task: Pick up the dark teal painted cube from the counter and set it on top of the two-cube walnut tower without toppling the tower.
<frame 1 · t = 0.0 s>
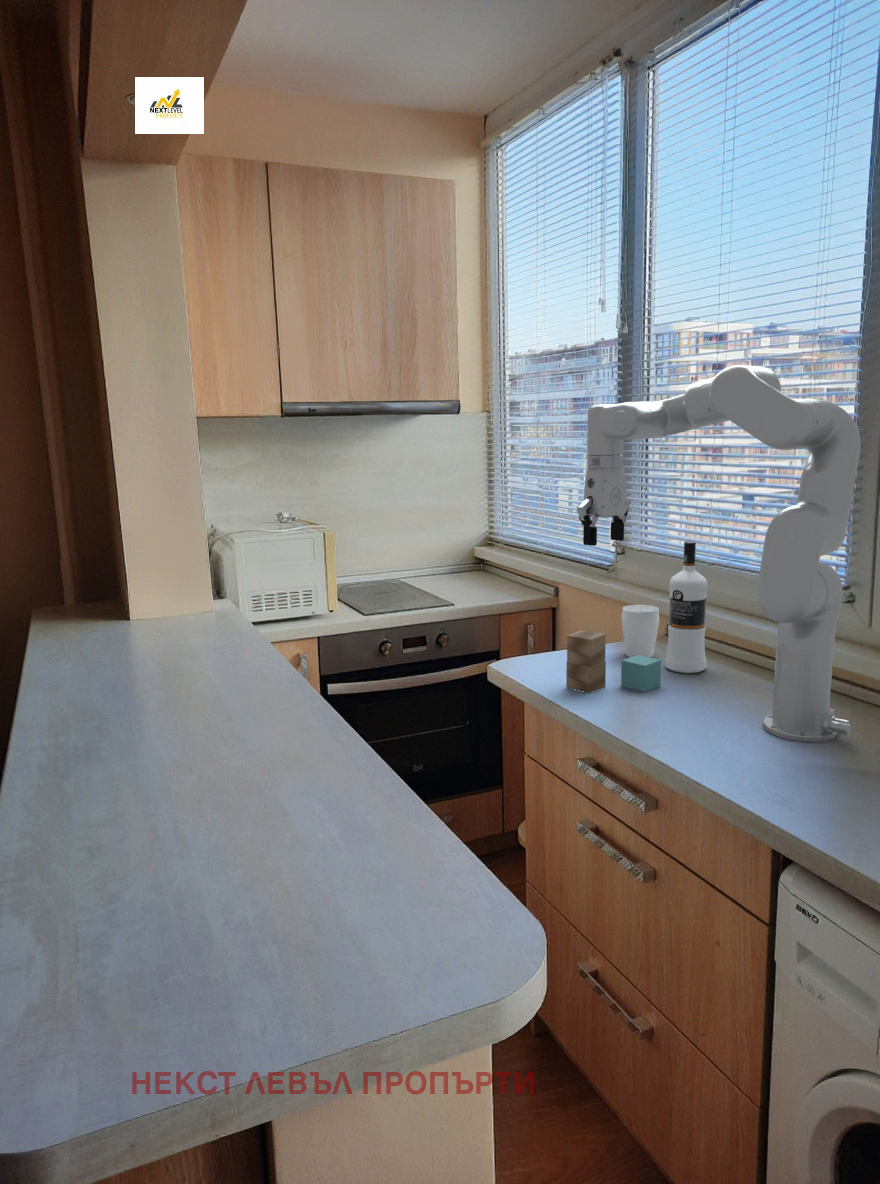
hand: (603, 542, 178), 31 cm above the table, tool pointing down, fingers open, 9 cm apart
vodka: (685, 669, 190), on the table
tower base: (585, 687, 178), on the table, touching tower mid
tower mid: (586, 661, 177), point 6 cm above the table, touching tower base
cup: (639, 656, 202), on the table
teal block: (640, 686, 179), on the table
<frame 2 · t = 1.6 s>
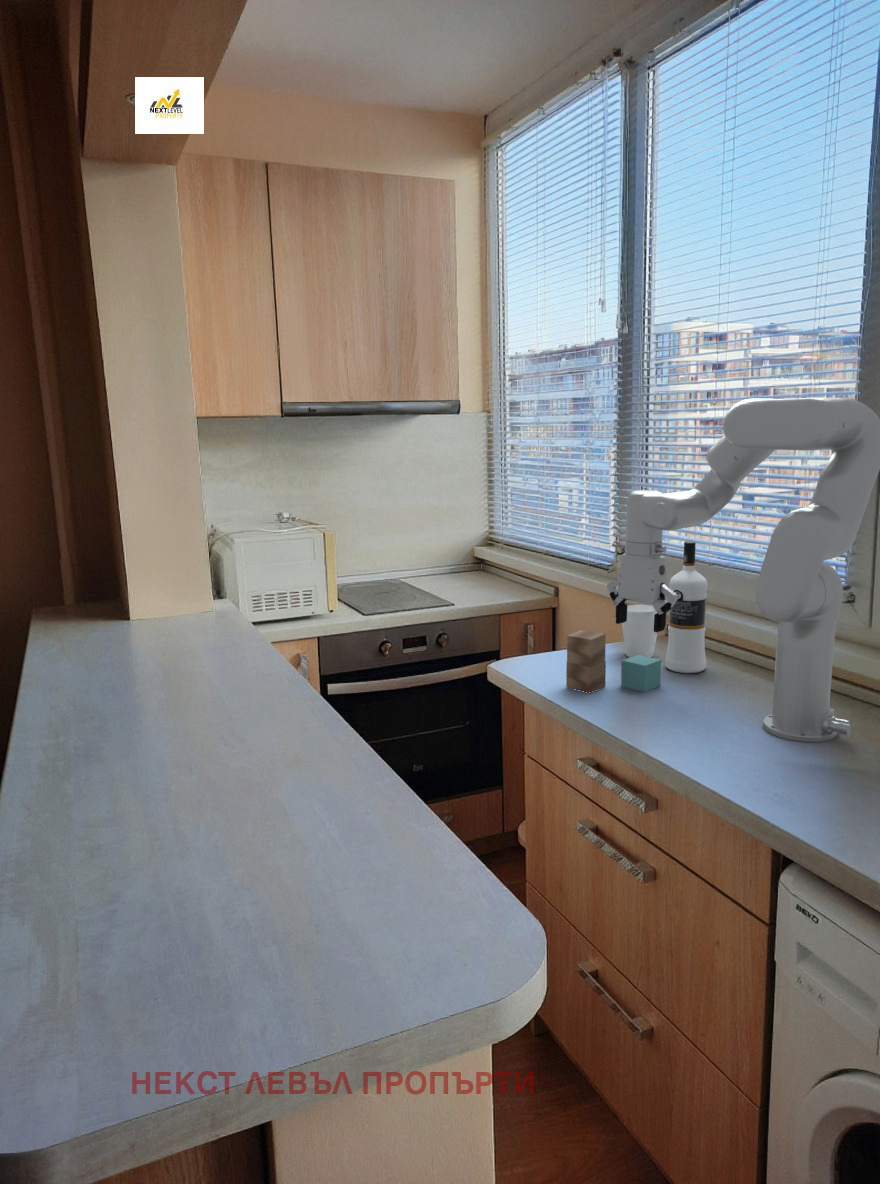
hand: (639, 626, 176), 13 cm above the table, tool pointing down, fingers open, 9 cm apart
nothing on the table moved.
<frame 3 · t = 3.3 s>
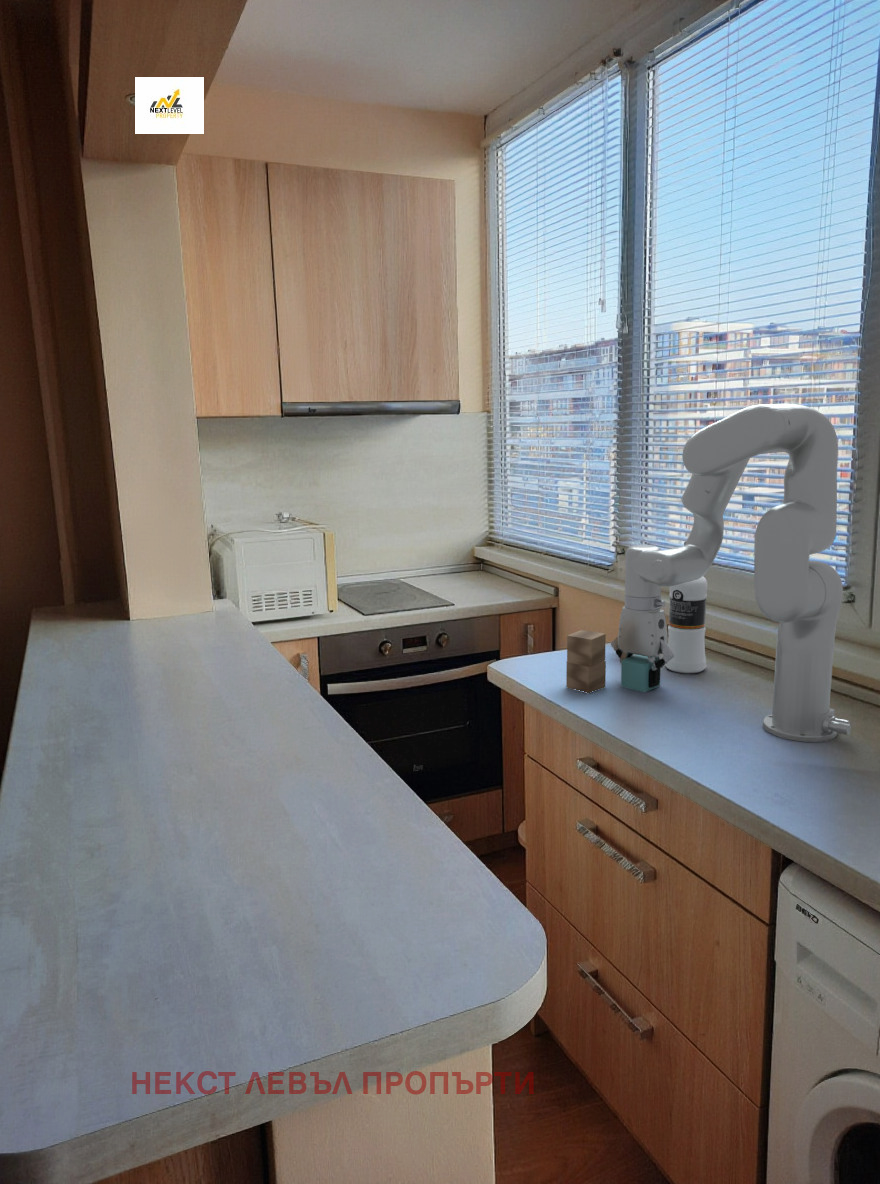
hand: (640, 682, 178), 1 cm above the table, tool pointing down, fingers closed on teal block, 6 cm apart
teal block: (640, 686, 179), on the table, touching gripper
everything else where it was.
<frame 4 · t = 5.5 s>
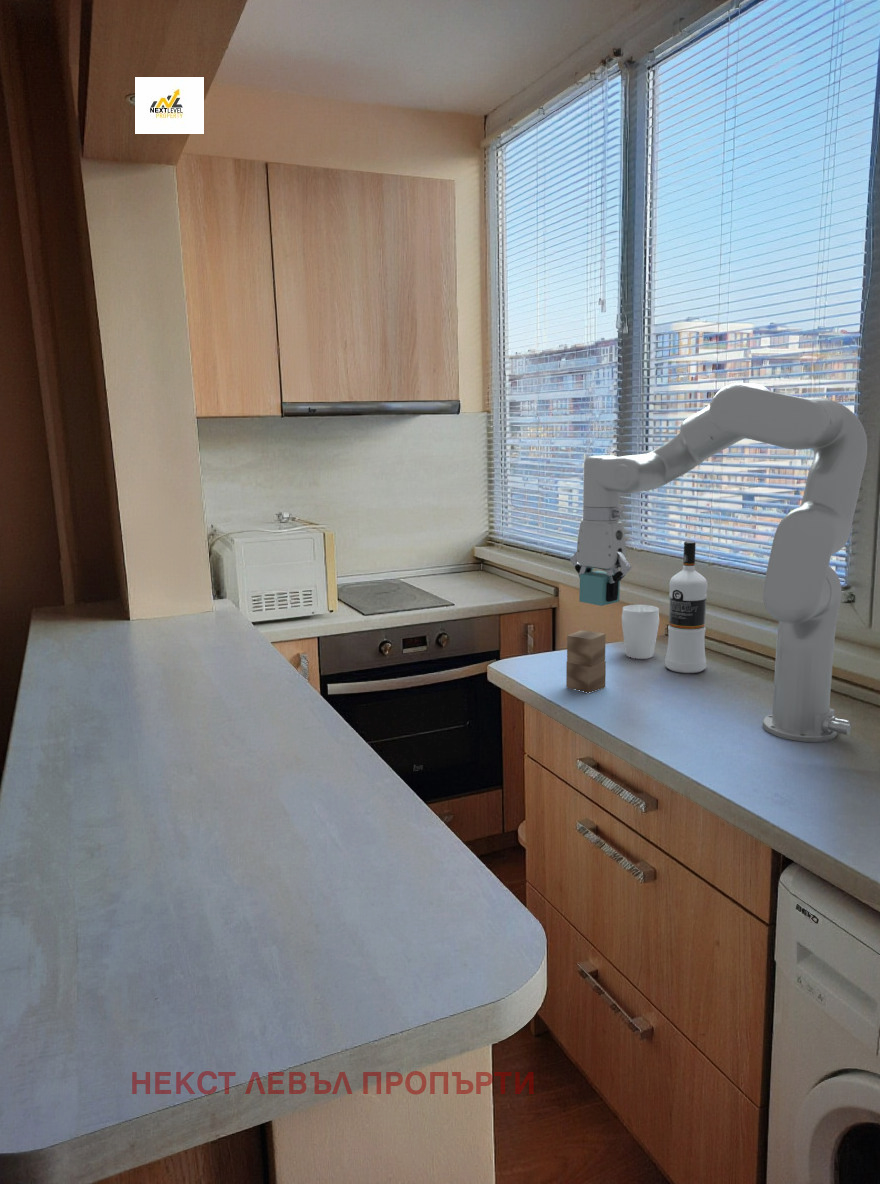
hand: (599, 597, 175), 20 cm above the table, tool pointing down, fingers closed on teal block, 6 cm apart
teal block: (599, 601, 175), point 19 cm above the table, touching gripper
everything else where it was.
when the fingers open (14 cm above the table, at t = 7.6 s): teal block stays where it is, resting on tower mid.
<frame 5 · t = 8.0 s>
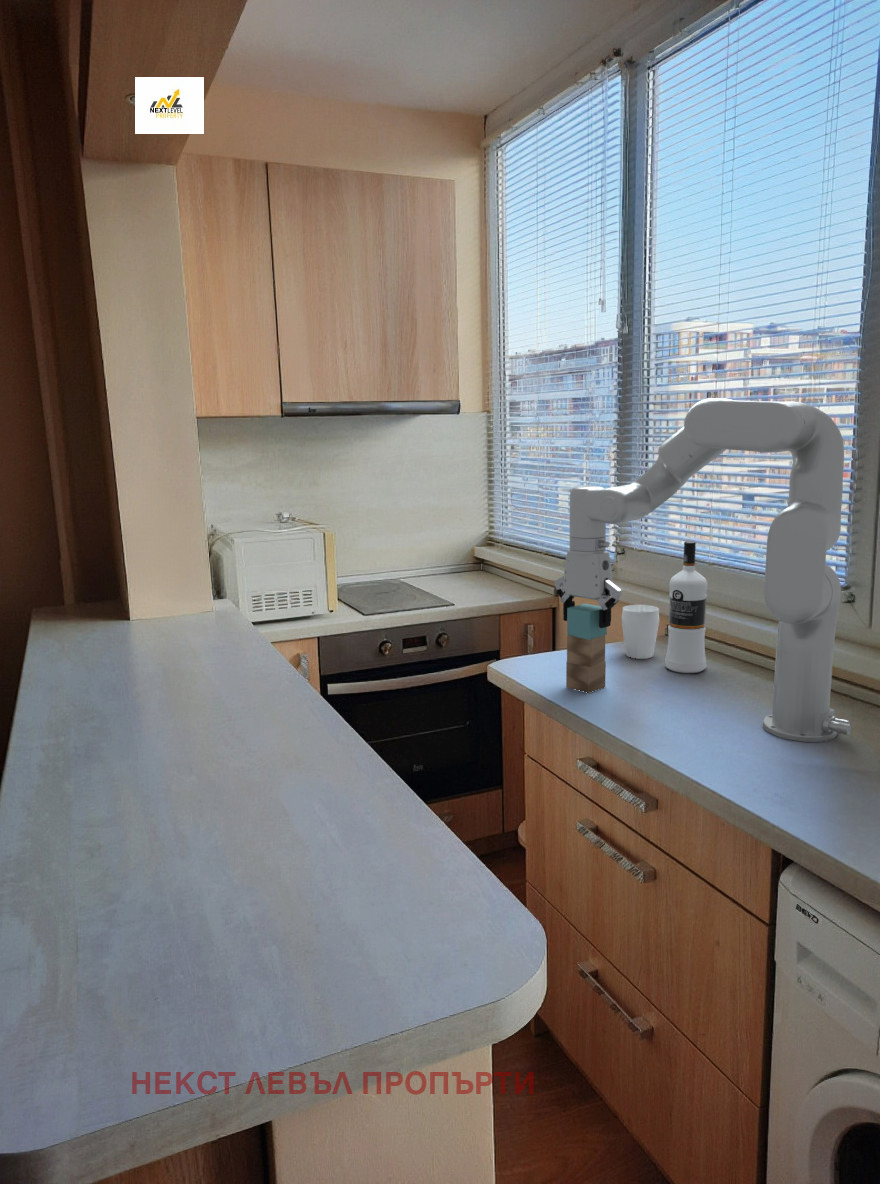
hand: (586, 623, 176), 14 cm above the table, tool pointing down, fingers open, 9 cm apart
tower mid: (586, 661, 177), point 6 cm above the table, touching teal block, tower base
teal block: (586, 634, 176), point 12 cm above the table, touching tower mid
everything else where it was.
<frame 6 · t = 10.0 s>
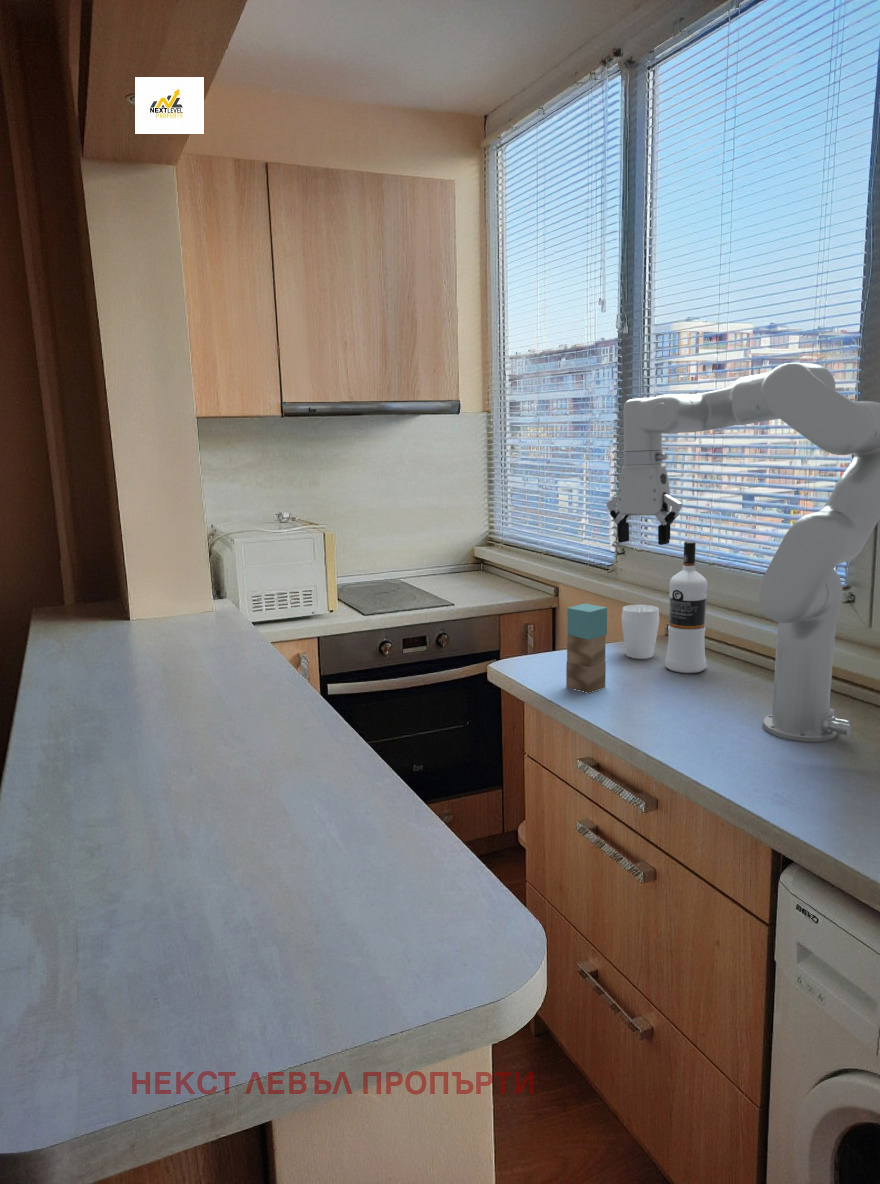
hand: (643, 542, 170), 32 cm above the table, tool pointing down, fingers open, 9 cm apart
nothing on the table moved.
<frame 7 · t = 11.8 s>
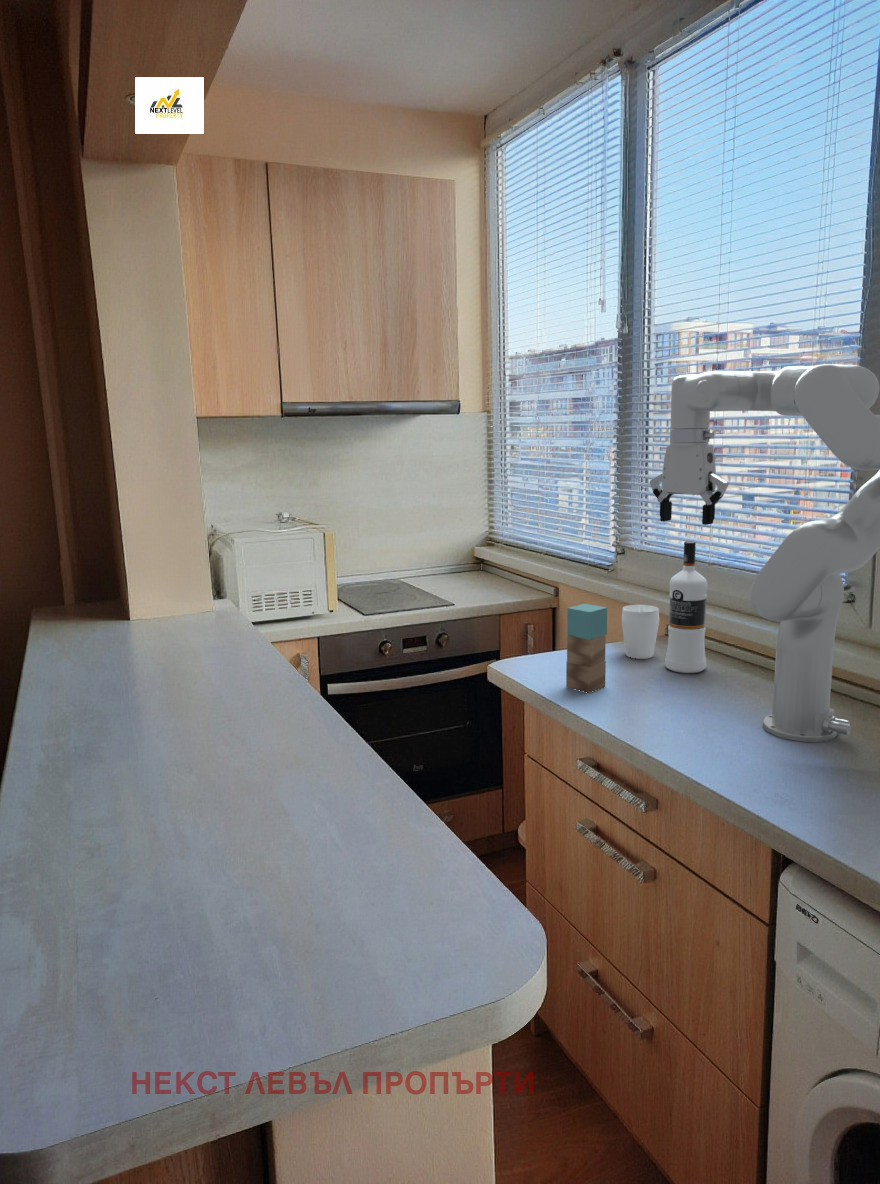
hand: (686, 522, 167), 36 cm above the table, tool pointing down, fingers open, 9 cm apart
nothing on the table moved.
at the end: teal block 0.1 cm off-centre on the tower mid, point 6.0 cm above the tower mid's base; tower mid tilted 0°; teal block tilted 0° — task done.
